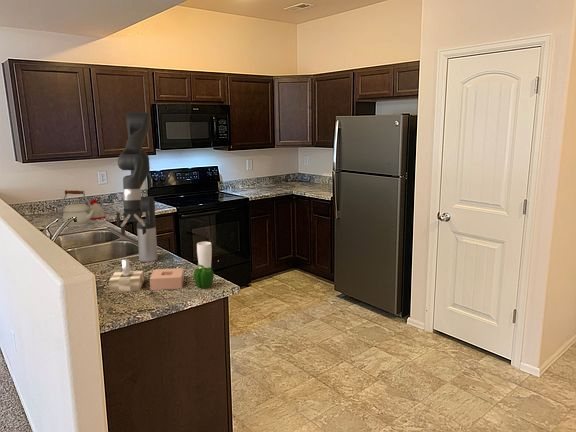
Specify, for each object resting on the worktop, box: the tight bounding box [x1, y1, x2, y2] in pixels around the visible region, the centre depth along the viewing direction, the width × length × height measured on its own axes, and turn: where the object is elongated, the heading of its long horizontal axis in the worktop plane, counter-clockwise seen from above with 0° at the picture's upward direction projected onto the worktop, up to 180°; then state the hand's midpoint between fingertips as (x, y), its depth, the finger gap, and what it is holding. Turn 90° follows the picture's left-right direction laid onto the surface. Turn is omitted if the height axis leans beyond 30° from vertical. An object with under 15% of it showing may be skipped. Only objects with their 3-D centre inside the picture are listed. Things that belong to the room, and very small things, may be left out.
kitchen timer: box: [87, 198, 106, 221], centre depth 343 cm, size 14×14×15 cm
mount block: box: [108, 270, 145, 293], centre depth 192 cm, size 12×12×5 cm
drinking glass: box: [196, 241, 213, 269], centre depth 207 cm, size 7×7×15 cm
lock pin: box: [121, 258, 131, 277], centre depth 191 cm, size 3×3×12 cm
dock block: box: [149, 267, 185, 291], centre depth 195 cm, size 13×13×5 cm
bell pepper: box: [193, 264, 215, 289], centre depth 191 cm, size 8×8×10 cm
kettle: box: [60, 189, 95, 228], centre depth 318 cm, size 25×18×25 cm
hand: (133, 234), depth 201 cm, fingers open, 8 cm apart
